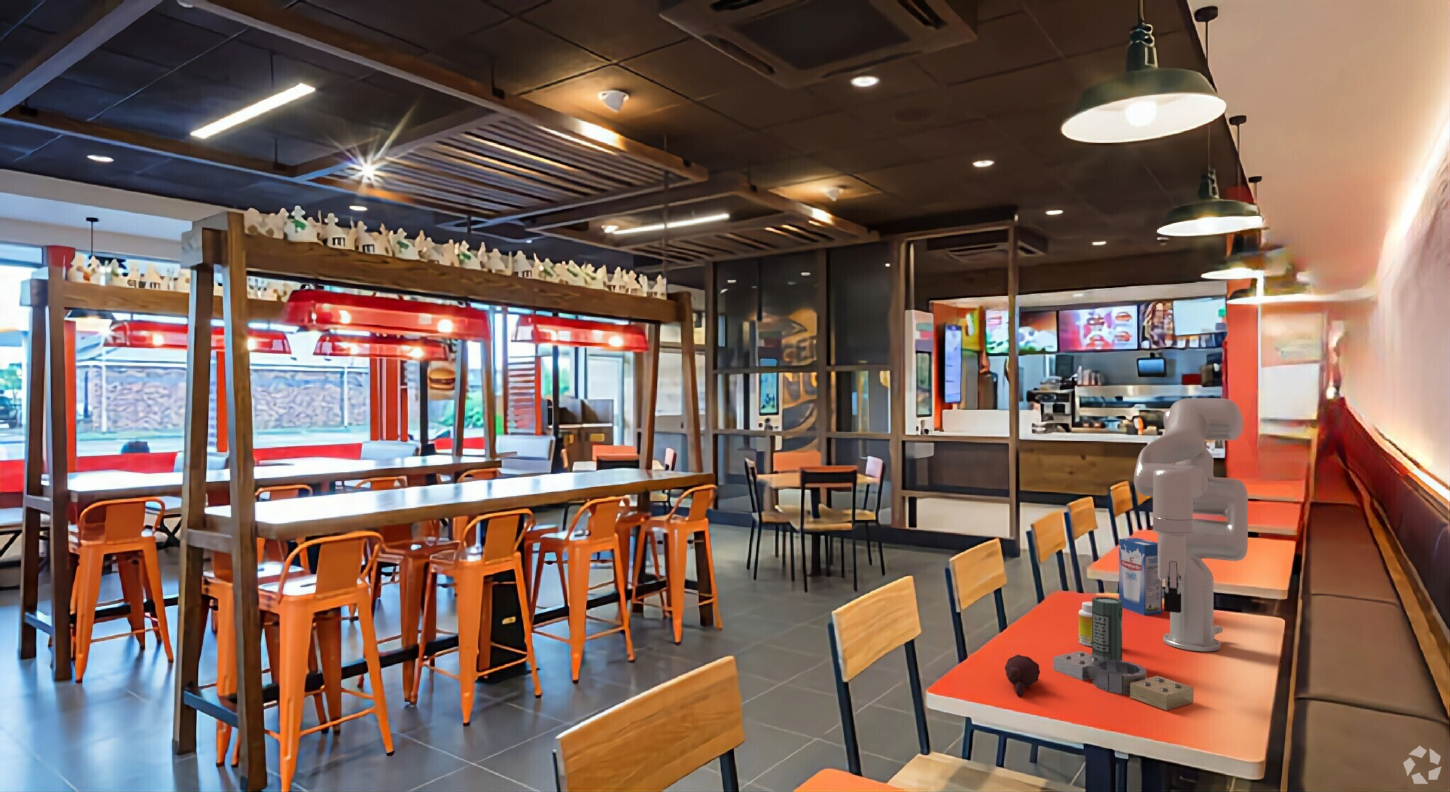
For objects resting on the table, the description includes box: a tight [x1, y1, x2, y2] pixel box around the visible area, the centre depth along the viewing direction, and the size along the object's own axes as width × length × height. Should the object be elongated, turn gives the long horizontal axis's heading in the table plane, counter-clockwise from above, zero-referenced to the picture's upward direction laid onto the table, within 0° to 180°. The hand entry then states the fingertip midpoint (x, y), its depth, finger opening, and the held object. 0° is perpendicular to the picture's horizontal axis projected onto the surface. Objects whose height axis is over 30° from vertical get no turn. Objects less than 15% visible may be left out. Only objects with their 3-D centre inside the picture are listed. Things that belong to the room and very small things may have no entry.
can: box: [1091, 596, 1123, 661], centre depth 194 cm, size 6×6×15 cm
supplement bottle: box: [1078, 601, 1092, 647], centre depth 209 cm, size 6×6×10 cm
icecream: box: [1004, 654, 1041, 697], centre depth 180 cm, size 7×7×15 cm
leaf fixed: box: [1052, 650, 1148, 696], centre depth 184 cm, size 10×19×4 cm, turn 27°
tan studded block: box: [1129, 675, 1195, 711], centre depth 172 cm, size 9×8×3 cm
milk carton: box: [1118, 537, 1163, 616], centre depth 240 cm, size 10×6×20 cm, turn 16°
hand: (1172, 610), depth 177 cm, fingers closed
